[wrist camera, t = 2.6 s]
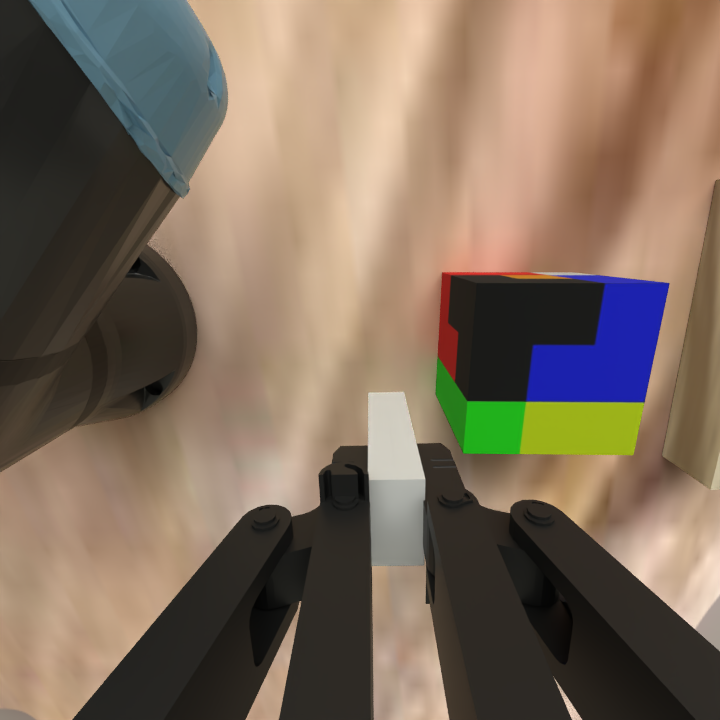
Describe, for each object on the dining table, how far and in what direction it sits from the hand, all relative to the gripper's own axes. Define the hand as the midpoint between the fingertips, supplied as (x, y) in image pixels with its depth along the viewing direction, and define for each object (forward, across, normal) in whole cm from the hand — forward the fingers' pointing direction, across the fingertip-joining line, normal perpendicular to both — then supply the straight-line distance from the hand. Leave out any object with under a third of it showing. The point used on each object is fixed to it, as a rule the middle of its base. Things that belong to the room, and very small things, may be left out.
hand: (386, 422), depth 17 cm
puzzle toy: (+16, +10, 0) cm, 19 cm away
